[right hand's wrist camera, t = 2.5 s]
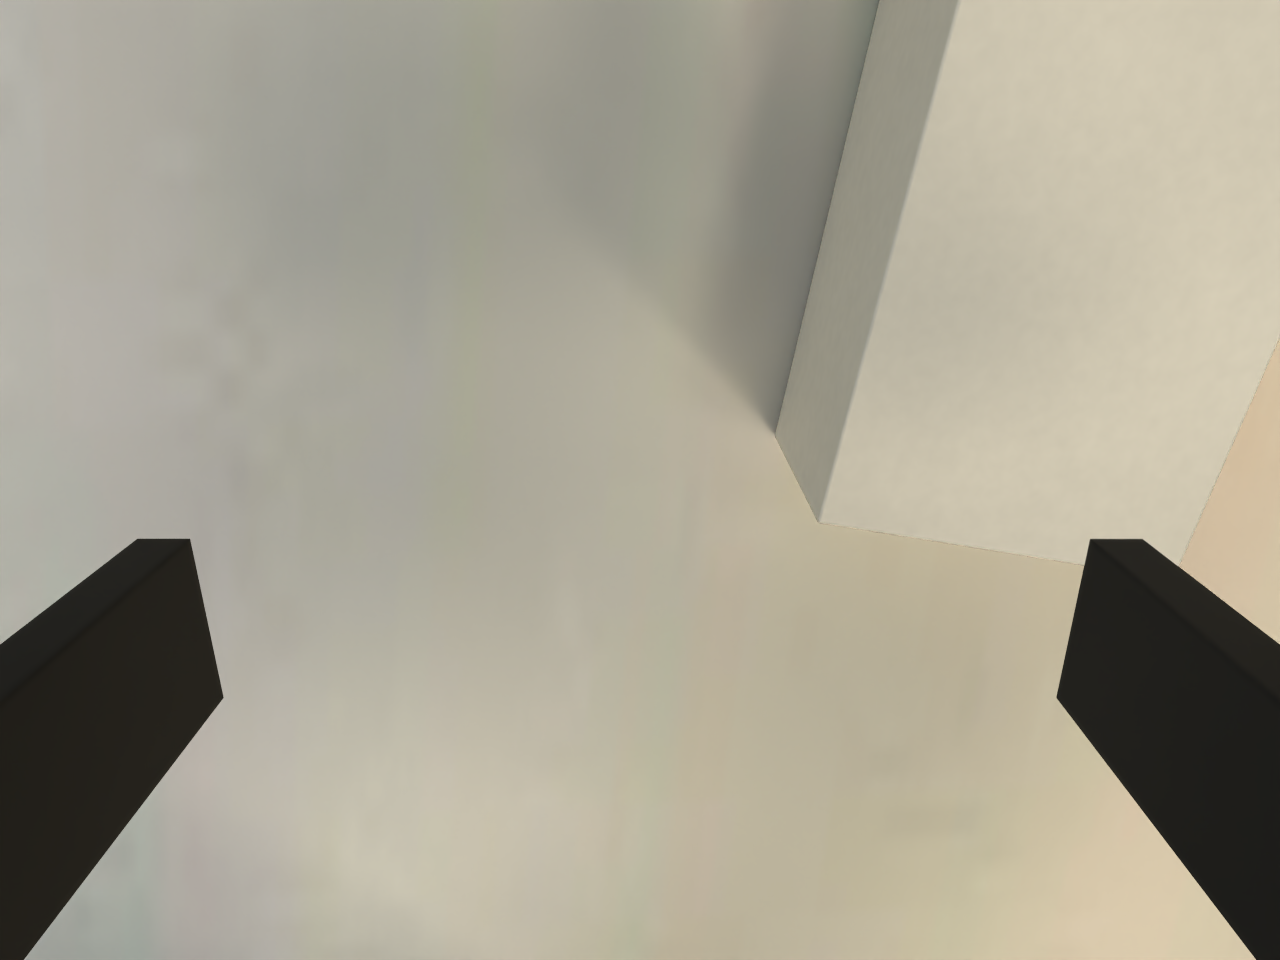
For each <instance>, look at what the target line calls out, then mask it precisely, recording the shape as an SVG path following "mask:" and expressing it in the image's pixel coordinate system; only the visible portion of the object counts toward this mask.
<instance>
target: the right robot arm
mask: <svg viewBox="0 0 1280 960" xmlns="http://www.w3.org/2000/svg"><path fill="white" fill-rule="evenodd" d="M222 699H223V693H222V688H221V684H220V679H219V674H218V669H217V665H216V660H215V655H214V650H213V646H212V641H211V636H210V631H209V627H208V622H207V617H206V612H205V608H204V603H203V598H202V593H201V589H200V584H199V579H198V575H197V570H196V565H195V560H194V556H193V551H192V546H191V541H190V539H137V540H135V541H134V542H133V543H131V544H130V545H129V546H128V547H126V548H125V549H124V550H122V551H121V552H120V553H118V554H117V555H116V556H115V557H113V558H112V559H111V560H109V561H108V562H107V563H106V564H104V565H103V566H102V567H100V568H99V569H98V570H96V571H95V572H94V573H93V574H91V575H90V576H89V577H87V578H86V579H85V580H83V581H82V582H81V583H80V584H78V585H77V586H76V587H74V588H73V589H72V590H70V591H69V592H68V593H67V594H65V595H64V596H63V597H61V598H60V599H59V600H58V601H56V602H55V603H54V604H52V605H51V606H50V607H48V608H47V609H46V610H45V611H43V612H42V613H41V614H39V615H38V616H37V617H35V618H34V619H33V620H32V621H30V622H29V623H28V624H26V625H25V626H24V627H22V628H21V629H20V630H19V631H17V632H16V633H15V634H13V635H12V636H11V637H10V638H8V639H7V640H6V641H4V642H3V643H2V644H0V960H24V959H25V957H26V956H27V955H28V953H29V952H30V951H31V949H32V948H33V947H34V946H35V944H36V943H37V942H38V940H39V939H40V938H41V936H42V935H43V934H44V932H45V931H46V930H47V928H48V927H49V926H50V925H51V923H52V922H53V921H54V919H55V918H56V917H57V915H58V914H59V913H60V911H61V910H62V909H63V907H64V906H65V905H66V904H67V902H68V901H69V900H70V898H71V897H72V896H73V894H74V893H75V892H76V890H77V889H78V888H79V887H80V885H81V884H82V883H83V881H84V880H85V879H86V877H87V876H88V875H89V873H90V872H91V871H92V869H93V868H94V867H95V866H96V864H97V863H98V862H99V860H100V859H101V858H102V856H103V855H104V854H105V852H106V851H107V850H108V848H109V847H110V846H111V845H112V843H113V842H114V841H115V839H116V838H117V837H118V835H119V834H120V833H121V831H122V830H123V829H124V827H125V826H126V825H127V824H128V822H129V821H130V820H131V818H132V817H133V816H134V814H135V813H136V812H137V810H138V809H139V808H140V806H141V805H142V804H143V803H144V801H145V800H146V799H147V797H148V796H149V795H150V793H151V792H152V791H153V789H154V788H155V787H156V786H157V784H158V783H159V782H160V780H161V779H162V778H163V776H164V775H165V774H166V772H167V771H168V770H169V768H170V767H171V766H172V765H173V763H174V762H175V761H176V759H177V758H178V757H179V755H180V754H181V753H182V751H183V750H184V749H185V747H186V746H187V745H188V744H189V742H190V741H191V740H192V738H193V737H194V736H195V734H196V733H197V732H198V730H199V729H200V728H201V726H202V725H203V724H204V723H205V721H206V720H207V719H208V717H209V716H210V715H211V713H212V712H213V711H214V709H215V708H216V707H217V706H218V704H219V703H220V702H221V700H222ZM1057 699H1058V700H1059V702H1060V703H1061V704H1062V706H1063V707H1064V708H1065V709H1066V711H1067V712H1068V713H1069V715H1070V716H1071V717H1072V719H1073V720H1074V721H1075V723H1076V724H1077V725H1078V726H1079V728H1080V729H1081V730H1082V732H1083V733H1084V734H1085V736H1086V737H1087V738H1088V740H1089V741H1090V742H1091V744H1092V745H1093V746H1094V747H1095V749H1096V750H1097V751H1098V753H1099V754H1100V755H1101V757H1102V758H1103V759H1104V761H1105V762H1106V763H1107V765H1108V766H1109V767H1110V768H1111V770H1112V771H1113V772H1114V774H1115V775H1116V776H1117V778H1118V779H1119V780H1120V782H1121V783H1122V784H1123V786H1124V787H1125V788H1126V789H1127V791H1128V792H1129V793H1130V795H1131V796H1132V797H1133V799H1134V800H1135V801H1136V803H1137V804H1138V805H1139V806H1140V808H1141V809H1142V810H1143V812H1144V813H1145V814H1146V816H1147V817H1148V818H1149V820H1150V821H1151V822H1152V824H1153V825H1154V826H1155V827H1156V829H1157V830H1158V831H1159V833H1160V834H1161V835H1162V837H1163V838H1164V839H1165V841H1166V842H1167V843H1168V845H1169V846H1170V847H1171V848H1172V850H1173V851H1174V852H1175V854H1176V855H1177V856H1178V858H1179V859H1180V860H1181V862H1182V863H1183V864H1184V866H1185V867H1186V868H1187V869H1188V871H1189V872H1190V873H1191V875H1192V876H1193V877H1194V879H1195V880H1196V881H1197V883H1198V884H1199V885H1200V887H1201V888H1202V889H1203V890H1204V892H1205V893H1206V894H1207V896H1208V897H1209V898H1210V900H1211V901H1212V902H1213V904H1214V905H1215V906H1216V907H1217V909H1218V910H1219V911H1220V913H1221V914H1222V915H1223V917H1224V918H1225V919H1226V921H1227V922H1228V923H1229V925H1230V926H1231V927H1232V928H1233V930H1234V931H1235V932H1236V934H1237V935H1238V936H1239V938H1240V939H1241V940H1242V942H1243V943H1244V944H1245V946H1246V947H1247V948H1248V949H1249V951H1250V952H1251V953H1252V955H1253V956H1254V957H1255V959H1256V960H1280V644H1278V643H1277V642H1276V641H1274V640H1273V639H1272V638H1270V637H1269V636H1268V635H1267V634H1265V633H1264V632H1263V631H1261V630H1260V629H1259V628H1258V627H1256V626H1255V625H1254V624H1252V623H1251V622H1250V621H1248V620H1247V619H1246V618H1245V617H1243V616H1242V615H1241V614H1239V613H1238V612H1237V611H1235V610H1234V609H1233V608H1232V607H1230V606H1229V605H1228V604H1226V603H1225V602H1224V601H1222V600H1221V599H1220V598H1219V597H1217V596H1216V595H1215V594H1213V593H1212V592H1211V591H1210V590H1208V589H1207V588H1206V587H1204V586H1203V585H1202V584H1200V583H1199V582H1198V581H1197V580H1195V579H1194V578H1193V577H1191V576H1190V575H1189V574H1187V573H1186V572H1185V571H1184V570H1182V569H1181V568H1180V567H1178V566H1177V565H1176V564H1174V563H1173V562H1172V561H1171V560H1169V559H1168V558H1167V557H1165V556H1164V555H1163V554H1162V553H1160V552H1159V551H1158V550H1156V549H1155V548H1154V547H1152V546H1151V545H1150V544H1149V543H1147V542H1146V541H1145V540H1143V539H1090V541H1089V546H1088V551H1087V556H1086V560H1085V565H1084V570H1083V575H1082V579H1081V584H1080V589H1079V593H1078V598H1077V603H1076V608H1075V612H1074V617H1073V622H1072V627H1071V631H1070V636H1069V641H1068V646H1067V650H1066V655H1065V660H1064V665H1063V669H1062V674H1061V679H1060V684H1059V688H1058V693H1057Z"/></svg>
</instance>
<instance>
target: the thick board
mask: <svg viewBox="0 0 1280 960" xmlns="http://www.w3.org/2000/svg"><path fill="white" fill-rule="evenodd" d="M1279 338H1280V0H879V4H878V8H877V12H876V17H875V21H874V25H873V29H872V33H871V37H870V42H869V46H868V50H867V54H866V58H865V62H864V67H863V71H862V75H861V79H860V83H859V87H858V92H857V96H856V100H855V104H854V108H853V112H852V116H851V121H850V125H849V129H848V133H847V137H846V141H845V146H844V150H843V154H842V158H841V162H840V166H839V171H838V175H837V179H836V183H835V187H834V191H833V196H832V200H831V204H830V208H829V212H828V216H827V221H826V225H825V229H824V233H823V237H822V241H821V245H820V250H819V254H818V258H817V262H816V266H815V270H814V275H813V279H812V283H811V287H810V291H809V295H808V300H807V304H806V308H805V312H804V316H803V320H802V325H801V329H800V333H799V337H798V341H797V345H796V350H795V354H794V358H793V362H792V366H791V370H790V374H789V379H788V383H787V387H786V391H785V395H784V399H783V404H782V408H781V412H780V416H779V420H778V424H777V429H776V433H775V437H776V439H777V441H778V443H779V445H780V447H781V449H782V451H783V453H784V455H785V457H786V459H787V461H788V463H789V465H790V467H791V469H792V471H793V473H794V475H795V477H796V479H797V481H798V483H799V485H800V487H801V489H802V491H803V493H804V495H805V497H806V499H807V501H808V503H809V505H810V507H811V509H812V511H813V513H814V515H815V517H816V519H817V521H818V522H819V523H822V524H828V525H834V526H841V527H847V528H853V529H859V530H866V531H872V532H878V533H884V534H890V535H897V536H903V537H909V538H915V539H922V540H928V541H934V542H940V543H947V544H953V545H959V546H965V547H972V548H978V549H984V550H990V551H997V552H1003V553H1009V554H1015V555H1022V556H1028V557H1034V558H1040V559H1047V560H1053V561H1059V562H1065V563H1072V564H1078V565H1085V560H1086V556H1087V551H1088V546H1089V541H1090V539H1143V540H1145V541H1146V542H1147V543H1149V544H1150V545H1151V546H1152V547H1154V548H1155V549H1156V550H1158V551H1159V552H1160V553H1162V554H1163V555H1164V556H1165V557H1167V558H1168V559H1169V560H1171V561H1172V562H1173V563H1174V564H1176V565H1177V566H1178V567H1179V565H1180V563H1181V561H1182V558H1183V556H1184V554H1185V552H1186V549H1187V547H1188V545H1189V542H1190V540H1191V538H1192V536H1193V533H1194V531H1195V529H1196V527H1197V524H1198V522H1199V520H1200V518H1201V515H1202V513H1203V511H1204V508H1205V506H1206V504H1207V502H1208V499H1209V497H1210V495H1211V493H1212V490H1213V488H1214V486H1215V483H1216V481H1217V479H1218V477H1219V474H1220V472H1221V470H1222V468H1223V465H1224V463H1225V461H1226V459H1227V456H1228V454H1229V452H1230V449H1231V447H1232V445H1233V443H1234V440H1235V438H1236V436H1237V434H1238V431H1239V429H1240V427H1241V425H1242V422H1243V420H1244V418H1245V415H1246V413H1247V411H1248V409H1249V406H1250V404H1251V402H1252V400H1253V397H1254V395H1255V393H1256V391H1257V388H1258V386H1259V384H1260V381H1261V379H1262V377H1263V375H1264V372H1265V370H1266V368H1267V366H1268V363H1269V361H1270V359H1271V357H1272V354H1273V352H1274V350H1275V347H1276V345H1277V343H1278V341H1279Z"/></svg>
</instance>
